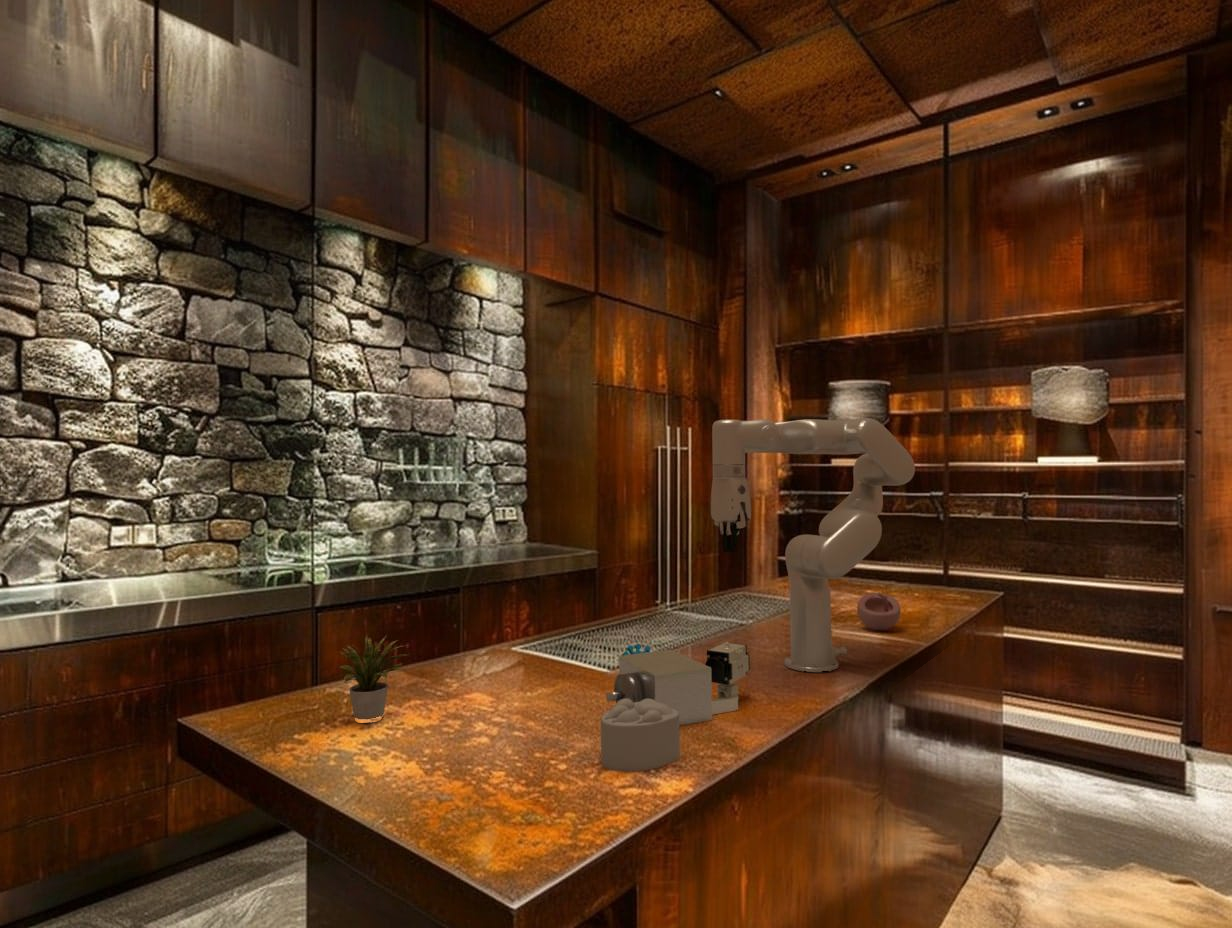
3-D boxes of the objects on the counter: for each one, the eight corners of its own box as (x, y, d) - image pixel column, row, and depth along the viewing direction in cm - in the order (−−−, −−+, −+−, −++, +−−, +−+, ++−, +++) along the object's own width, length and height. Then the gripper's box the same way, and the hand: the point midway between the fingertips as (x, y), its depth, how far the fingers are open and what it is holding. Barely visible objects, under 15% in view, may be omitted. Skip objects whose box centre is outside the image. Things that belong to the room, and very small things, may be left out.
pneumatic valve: (704, 706, 141) (703, 646, 141) (730, 691, 150) (729, 635, 151) (729, 711, 138) (728, 649, 138) (754, 696, 147) (753, 638, 148)
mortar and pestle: (861, 634, 204) (860, 594, 204) (854, 625, 216) (853, 588, 216) (905, 635, 202) (904, 595, 202) (895, 626, 214) (894, 588, 214)
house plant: (371, 739, 125) (371, 646, 126) (310, 730, 130) (310, 641, 131) (420, 713, 139) (419, 630, 139) (363, 706, 144) (362, 626, 144)
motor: (702, 691, 151) (701, 645, 151) (745, 714, 136) (744, 663, 136) (592, 708, 140) (591, 659, 141) (625, 734, 126) (624, 679, 126)
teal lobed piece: (629, 680, 154) (620, 641, 161) (619, 694, 158) (610, 655, 165) (673, 681, 159) (662, 642, 166) (663, 694, 162) (652, 656, 169)
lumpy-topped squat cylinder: (688, 758, 115) (687, 705, 115) (624, 778, 108) (623, 721, 108) (648, 739, 124) (647, 690, 124) (586, 757, 116) (586, 704, 116)
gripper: (762, 472, 159) (763, 554, 158) (723, 473, 172) (724, 548, 172) (735, 472, 155) (736, 555, 155) (697, 473, 169) (698, 550, 168)
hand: (729, 551), depth 163 cm, fingers closed
